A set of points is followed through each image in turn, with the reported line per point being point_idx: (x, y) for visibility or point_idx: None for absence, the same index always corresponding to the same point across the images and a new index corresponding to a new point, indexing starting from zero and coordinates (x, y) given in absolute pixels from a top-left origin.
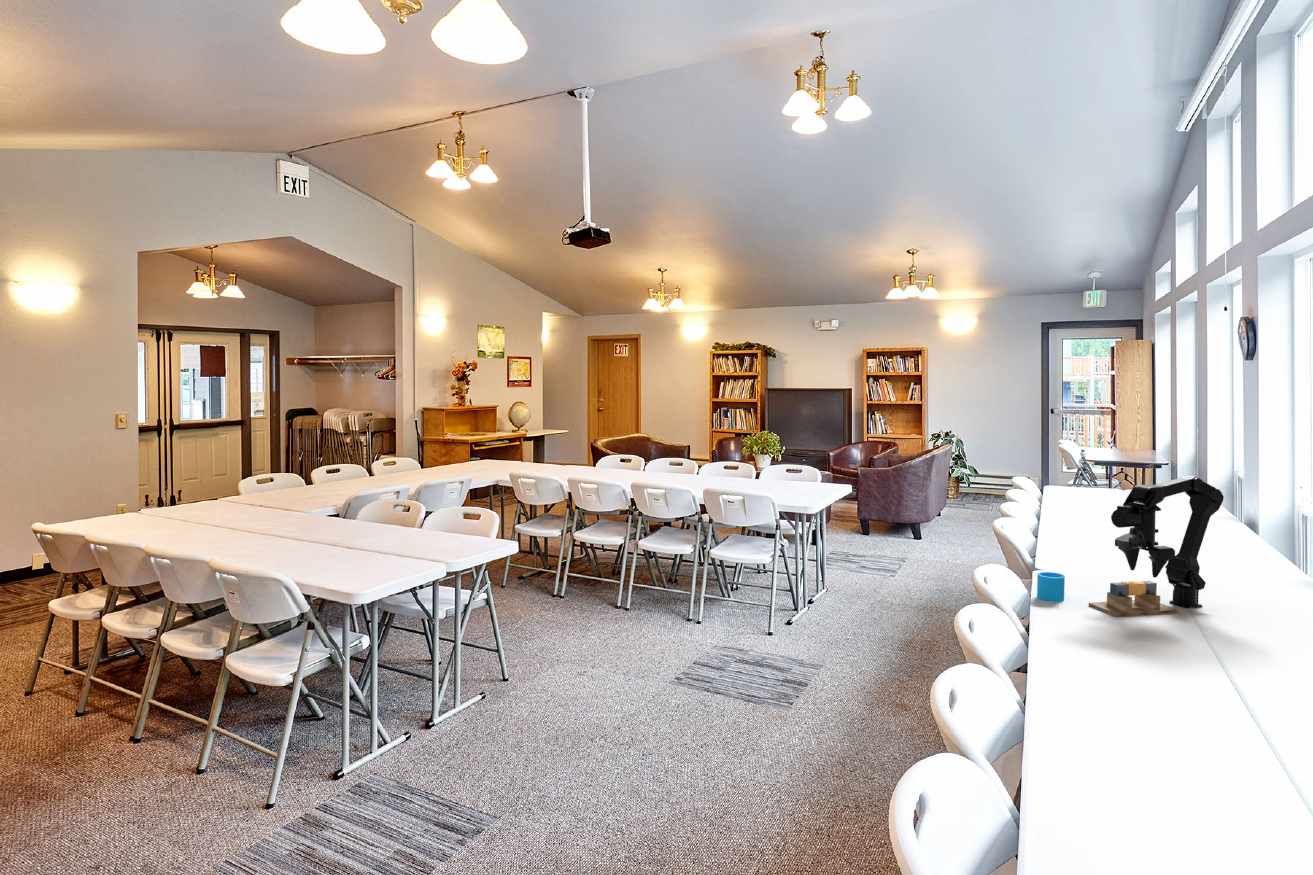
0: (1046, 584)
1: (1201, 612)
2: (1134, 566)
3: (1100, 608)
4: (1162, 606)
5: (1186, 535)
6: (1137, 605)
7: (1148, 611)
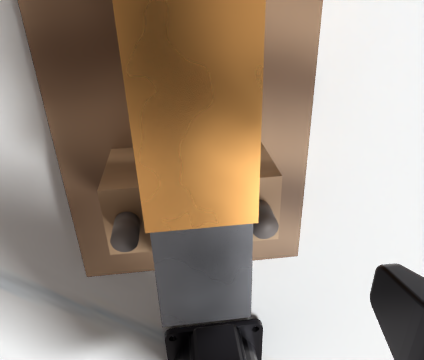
0: None
1: (95, 348)
2: (397, 344)
3: None
4: None
5: None
6: None
7: (42, 83)
